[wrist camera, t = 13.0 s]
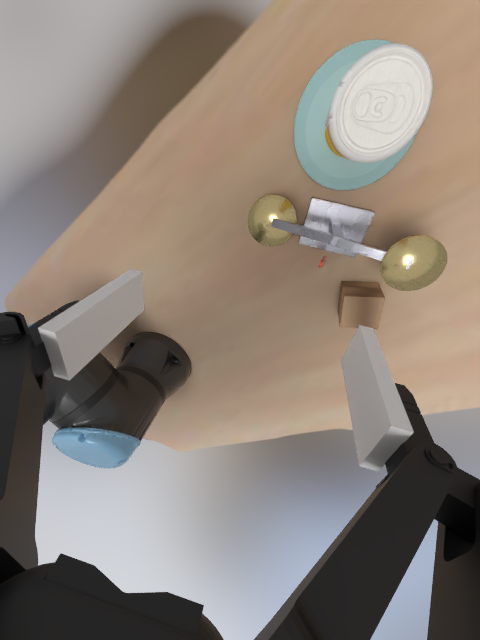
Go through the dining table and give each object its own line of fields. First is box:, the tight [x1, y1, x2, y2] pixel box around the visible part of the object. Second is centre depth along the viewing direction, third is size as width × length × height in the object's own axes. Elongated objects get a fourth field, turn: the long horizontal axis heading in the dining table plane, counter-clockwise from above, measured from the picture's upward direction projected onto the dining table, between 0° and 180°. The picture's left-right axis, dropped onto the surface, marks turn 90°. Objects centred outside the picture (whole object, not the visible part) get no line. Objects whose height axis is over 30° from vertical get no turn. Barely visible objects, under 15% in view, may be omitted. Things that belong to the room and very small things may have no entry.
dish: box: [294, 40, 416, 190], centre depth 29 cm, size 13×13×1 cm
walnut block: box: [338, 281, 385, 329], centre depth 38 cm, size 5×5×5 cm
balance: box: [248, 195, 447, 291], centre depth 32 cm, size 22×7×9 cm, turn 80°
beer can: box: [325, 44, 433, 163], centre depth 22 cm, size 6×6×15 cm
